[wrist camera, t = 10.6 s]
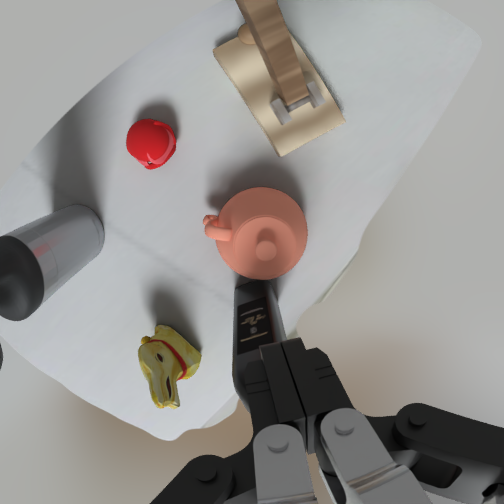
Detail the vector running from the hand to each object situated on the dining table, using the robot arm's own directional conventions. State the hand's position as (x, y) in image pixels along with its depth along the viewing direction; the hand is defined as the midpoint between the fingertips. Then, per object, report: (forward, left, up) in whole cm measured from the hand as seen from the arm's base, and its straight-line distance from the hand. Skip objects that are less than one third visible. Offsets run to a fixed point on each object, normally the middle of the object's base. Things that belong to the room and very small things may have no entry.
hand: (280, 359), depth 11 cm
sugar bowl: (0, -3, -34) cm, 34 cm away
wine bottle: (-1, -14, -34) cm, 37 cm away
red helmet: (-12, +11, -34) cm, 37 cm away
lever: (+7, +14, -28) cm, 32 cm away
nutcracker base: (+6, +16, -33) cm, 38 cm away
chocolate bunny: (-16, -21, -34) cm, 43 cm away
